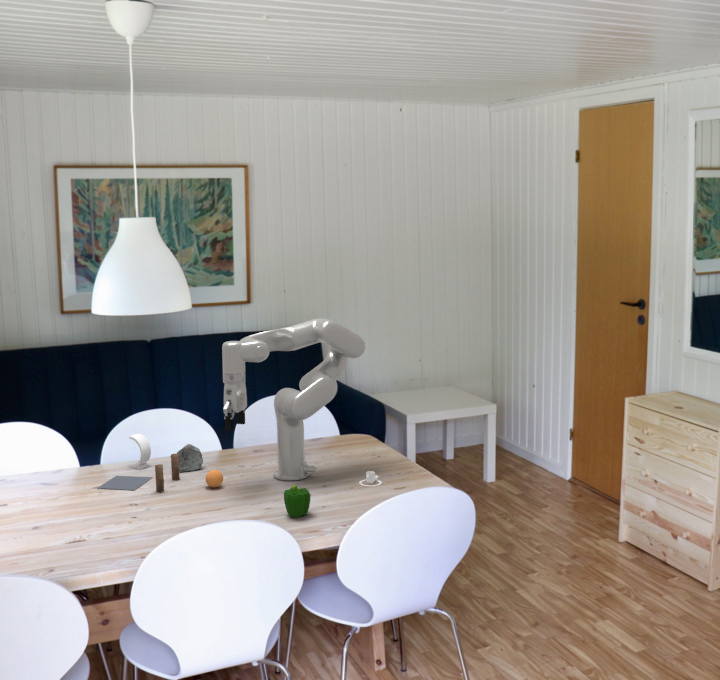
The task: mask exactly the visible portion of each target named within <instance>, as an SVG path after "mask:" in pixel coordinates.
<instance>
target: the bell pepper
mask: <svg viewBox="0 0 720 680" xmlns="http://www.w3.org/2000/svg"><path fill="white" fill-rule="evenodd" d="M283 502H284V507H285V509H286V513H287V514H288V515H289V516H290V517H291V518H301V517H303V516H305V515H307V514H308V513H309V508H310V505H311V493H310V491H309V490H308V489H307V488H306V487H302V488H298V485H296V484H294V485H292V486H291V487H290V488H289V489H284V492H283Z"/></svg>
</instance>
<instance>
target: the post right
mask: <svg viewBox="0 0 720 680" xmlns="http://www.w3.org/2000/svg"><path fill="white" fill-rule="evenodd" d="M170 467H171V468H170V469H171V480H172V481H178V480H180V472H179V458H178V454H177V453H172V454H170Z"/></svg>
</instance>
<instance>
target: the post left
mask: <svg viewBox="0 0 720 680" xmlns="http://www.w3.org/2000/svg"><path fill="white" fill-rule="evenodd" d="M154 472H155V473H154V475H155V491H156V493H164V492H165V480H164V479H165V478H164V465H163V464H155V465H154Z"/></svg>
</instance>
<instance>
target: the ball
mask: <svg viewBox="0 0 720 680" xmlns="http://www.w3.org/2000/svg"><path fill="white" fill-rule="evenodd" d="M223 482H224V475H223V473H222V472H221V471H219V470H218V469H212V470H210V471H209V472H207V473H206V476H205V483H206V485H207V486H208V487H210V488H214V489H215V488H218V487H220V486H222V484H223Z"/></svg>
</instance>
